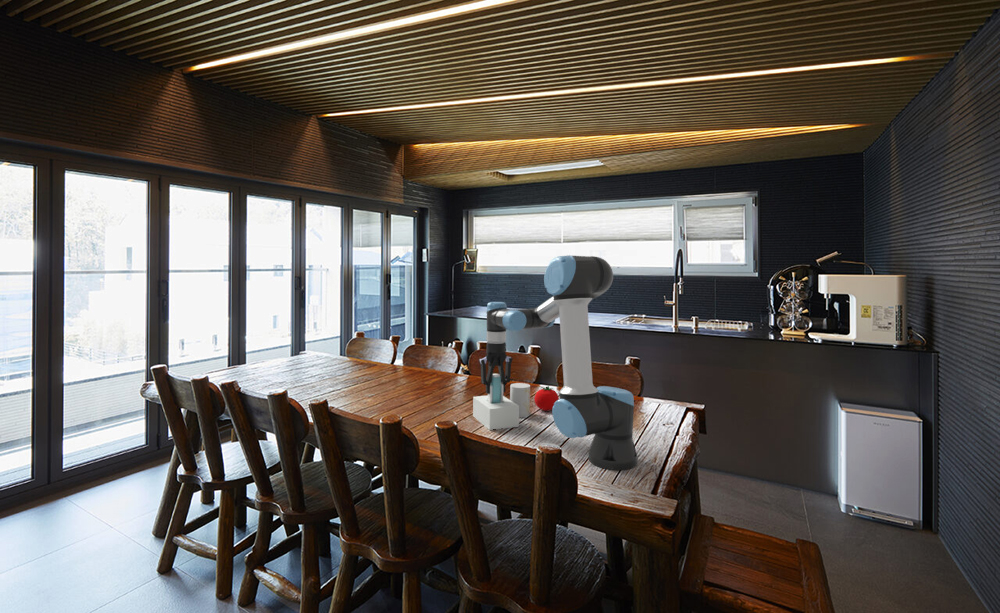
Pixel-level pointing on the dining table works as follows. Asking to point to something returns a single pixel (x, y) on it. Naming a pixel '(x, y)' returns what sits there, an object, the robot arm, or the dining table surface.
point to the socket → (496, 413)
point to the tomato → (546, 398)
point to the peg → (496, 388)
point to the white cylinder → (521, 397)
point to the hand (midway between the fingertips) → (495, 400)
